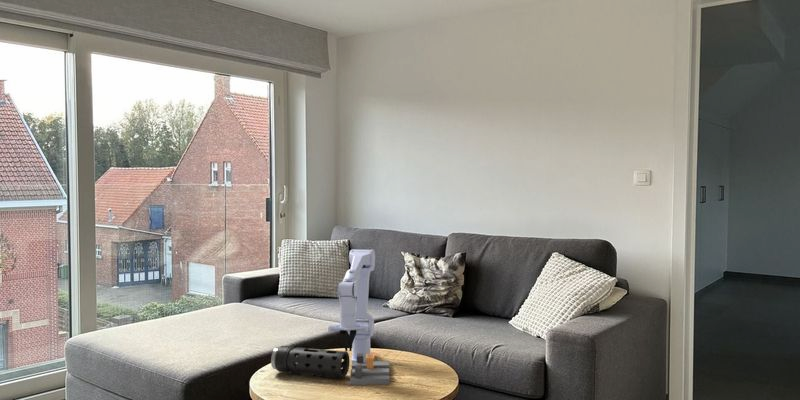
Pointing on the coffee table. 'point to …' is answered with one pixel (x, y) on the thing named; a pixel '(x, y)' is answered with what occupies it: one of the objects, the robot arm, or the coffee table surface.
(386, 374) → the box
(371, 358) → the handle
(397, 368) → the coffee table surface
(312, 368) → the muzzle brake
